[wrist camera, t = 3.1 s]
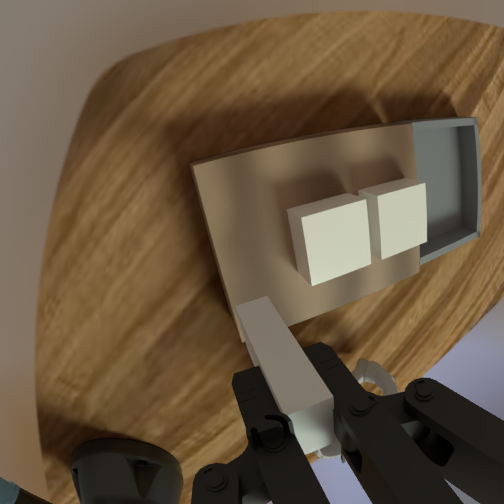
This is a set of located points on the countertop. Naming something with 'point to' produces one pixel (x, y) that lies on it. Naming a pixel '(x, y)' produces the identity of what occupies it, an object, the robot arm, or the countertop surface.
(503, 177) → the countertop surface
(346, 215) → the tile
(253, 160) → the board
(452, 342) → the countertop surface
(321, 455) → the mug
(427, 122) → the tray
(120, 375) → the countertop surface
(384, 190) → the tile
